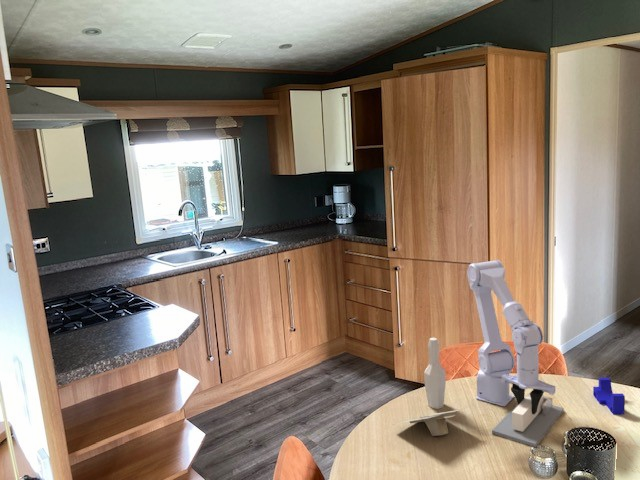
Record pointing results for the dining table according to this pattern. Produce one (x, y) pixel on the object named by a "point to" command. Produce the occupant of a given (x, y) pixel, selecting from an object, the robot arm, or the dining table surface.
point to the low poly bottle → (434, 377)
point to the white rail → (524, 413)
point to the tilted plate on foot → (435, 422)
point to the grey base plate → (530, 425)
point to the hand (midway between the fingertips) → (528, 410)
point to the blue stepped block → (609, 397)
